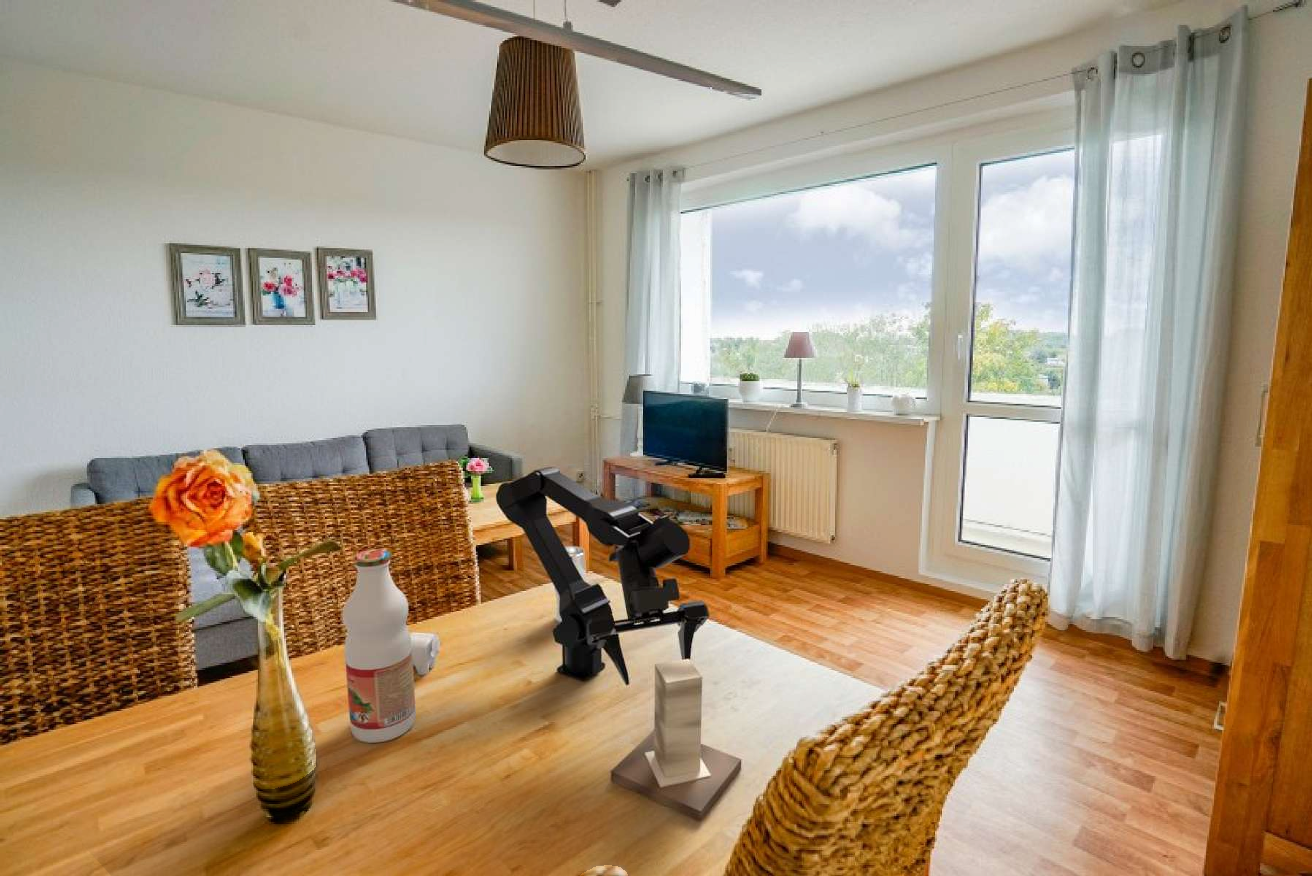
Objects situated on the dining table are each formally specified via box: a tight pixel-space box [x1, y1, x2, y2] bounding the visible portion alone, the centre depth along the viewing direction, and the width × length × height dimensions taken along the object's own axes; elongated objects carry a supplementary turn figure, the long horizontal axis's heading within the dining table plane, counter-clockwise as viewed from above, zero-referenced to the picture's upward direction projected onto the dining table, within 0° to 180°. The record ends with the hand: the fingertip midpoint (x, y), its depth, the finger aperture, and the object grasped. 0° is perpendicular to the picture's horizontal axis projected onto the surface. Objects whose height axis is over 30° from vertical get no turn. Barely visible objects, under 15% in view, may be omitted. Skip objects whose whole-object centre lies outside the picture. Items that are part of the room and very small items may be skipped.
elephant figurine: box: [410, 632, 443, 676], centre depth 120 cm, size 8×10×7 cm
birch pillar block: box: [653, 659, 703, 778], centre depth 91 cm, size 5×5×14 cm
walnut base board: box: [610, 729, 742, 822], centre depth 92 cm, size 14×12×2 cm
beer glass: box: [553, 545, 587, 624], centre depth 139 cm, size 7×7×15 cm
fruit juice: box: [342, 548, 417, 744], centre depth 101 cm, size 9×9×28 cm
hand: (657, 679), depth 99 cm, fingers open, 9 cm apart
